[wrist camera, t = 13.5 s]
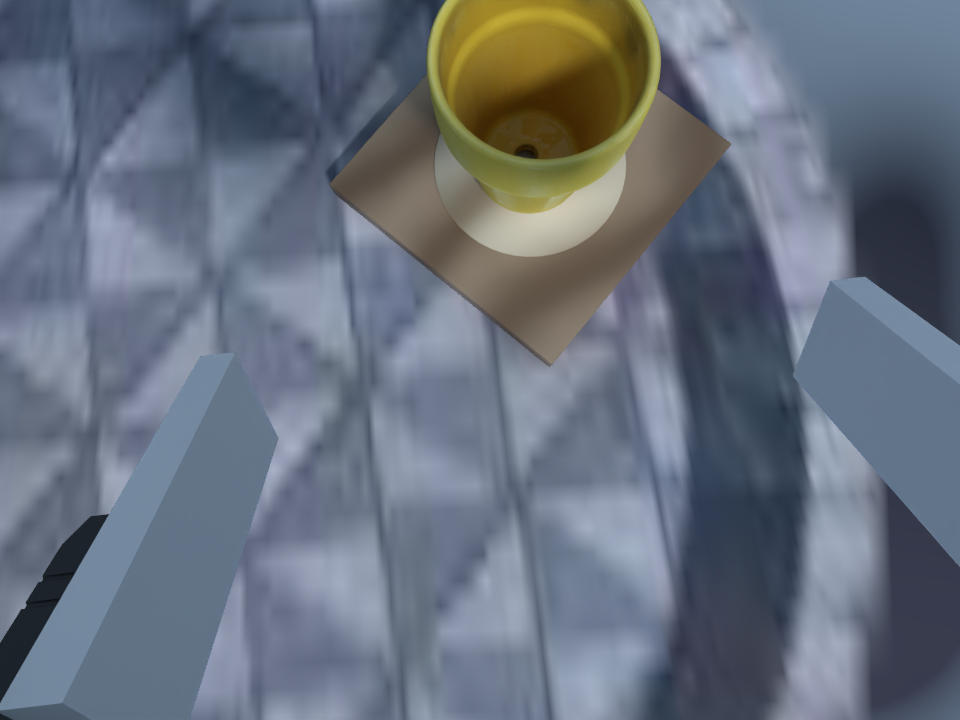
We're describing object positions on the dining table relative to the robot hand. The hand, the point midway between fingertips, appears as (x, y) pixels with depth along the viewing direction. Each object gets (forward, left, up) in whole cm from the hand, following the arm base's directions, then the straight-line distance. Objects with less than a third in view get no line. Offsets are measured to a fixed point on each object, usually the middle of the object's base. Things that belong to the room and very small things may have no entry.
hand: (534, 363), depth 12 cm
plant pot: (-8, +12, -19) cm, 24 cm away
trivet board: (-8, +12, -20) cm, 25 cm away
